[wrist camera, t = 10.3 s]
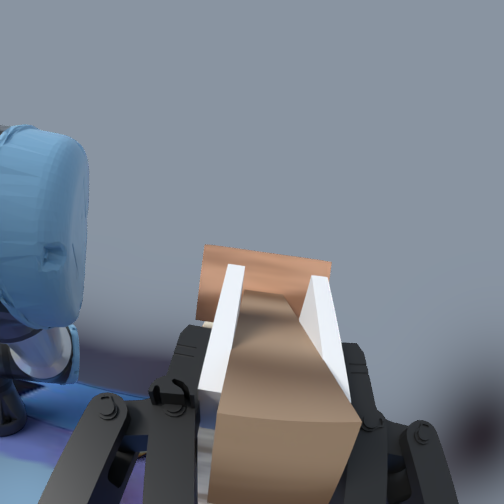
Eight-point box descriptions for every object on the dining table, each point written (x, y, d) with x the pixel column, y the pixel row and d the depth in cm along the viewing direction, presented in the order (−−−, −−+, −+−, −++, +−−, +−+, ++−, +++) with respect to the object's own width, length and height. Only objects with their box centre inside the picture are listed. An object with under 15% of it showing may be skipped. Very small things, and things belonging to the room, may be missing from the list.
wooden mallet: (434, 489, 5) (507, 295, 5) (78, 465, 5) (65, 235, 5) (310, 323, 27) (320, 260, 27) (203, 309, 27) (211, 244, 27)
